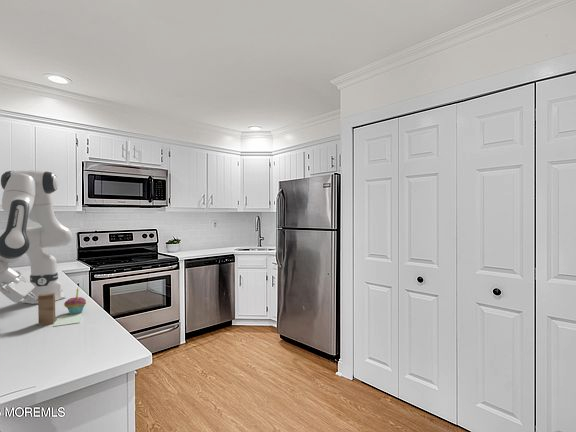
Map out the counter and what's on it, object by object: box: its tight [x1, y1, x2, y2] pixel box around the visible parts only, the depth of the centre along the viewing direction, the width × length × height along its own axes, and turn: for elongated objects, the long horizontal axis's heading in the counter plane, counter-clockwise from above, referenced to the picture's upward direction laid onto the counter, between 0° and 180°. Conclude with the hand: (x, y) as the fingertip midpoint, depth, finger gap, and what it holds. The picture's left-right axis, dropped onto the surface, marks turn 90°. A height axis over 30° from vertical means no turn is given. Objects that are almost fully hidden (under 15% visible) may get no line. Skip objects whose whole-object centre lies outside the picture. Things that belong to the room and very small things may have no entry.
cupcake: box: [63, 288, 87, 315], centre depth 151 cm, size 9×8×12 cm
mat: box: [52, 313, 83, 327], centre depth 141 cm, size 14×9×1 cm, turn 28°
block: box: [37, 292, 56, 327], centre depth 137 cm, size 5×5×12 cm
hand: (36, 301), depth 136 cm, fingers closed
